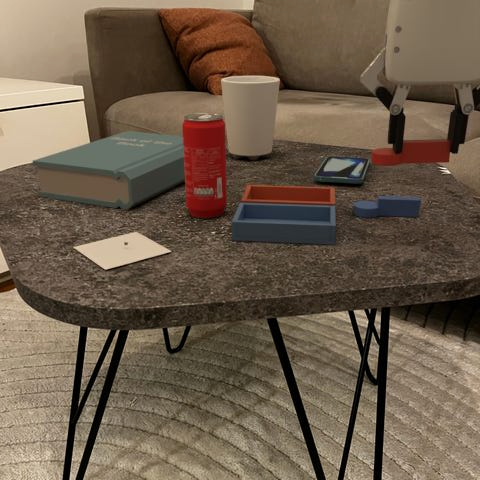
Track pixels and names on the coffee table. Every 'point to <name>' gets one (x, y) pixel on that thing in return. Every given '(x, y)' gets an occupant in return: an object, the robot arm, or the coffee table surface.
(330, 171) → the smartphone
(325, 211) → the blue tray
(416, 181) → the coffee table surface
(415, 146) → the red rounded block
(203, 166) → the beverage can
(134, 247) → the coaster
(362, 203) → the blue rounded block
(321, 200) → the red tray
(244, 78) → the cup
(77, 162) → the book
